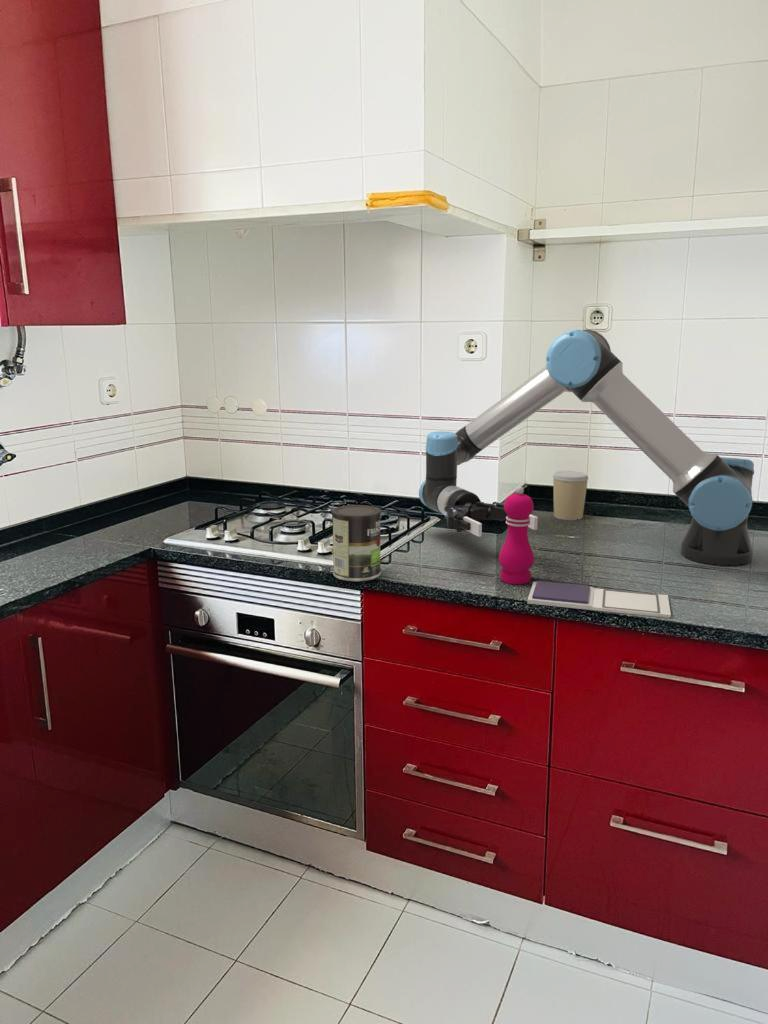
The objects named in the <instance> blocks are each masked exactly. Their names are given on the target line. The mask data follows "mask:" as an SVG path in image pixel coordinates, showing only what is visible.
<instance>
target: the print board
mask: <svg viewBox="0 0 768 1024" xmlns="http://www.w3.org/2000/svg"><path fill="white" fill-rule="evenodd" d="M591 611H598V612H610V613H618V614H628V615H637V616H638V615H639V616H648V617H655V618H657V617H658V618H666V619H667V618H668V619H671V617H672V613H671V607H670V600H669V595H668V594H661V593H660V594H659V593H650V592H648V593H647V592H638V591H628V590H620V589H619V590H617V589H607V588H597V587H596V588H595V587H594V593H593V602H592V610H591Z"/></svg>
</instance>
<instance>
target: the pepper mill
mask: <svg viewBox="0 0 768 1024" xmlns="http://www.w3.org/2000/svg"><path fill="white" fill-rule="evenodd" d="M524 491H525V490H524V487H523V486H519V485H518V486H516V487H515V489H514V493H512V494H510V495H508V496H507V497H506V498H505V500H504V503H503V504H504V510H505V512H506V513H507V515H508V516H506V520H505V524H506V525H507V534H506V537H505V540H504V543H503V544H502V546H501V549H500V552H499V554H498V555H499V556H498V562H499V565H500V566H501V568H502V569H501V570H500V580H501V581H502V582H503V583H505V584H509V585H524V584H528V583H530V582H531V579H532V577H531V576H532V573H531V571H530V569H531V568H532V567H533V566H534V563H535V557H534V553H533V549H532V546H531V545H530V542H529V537H528V532H529V527H528V525H530V519H531V518H530V517H529V515H530V514H531V515H532V513H533V511H534V508H535V506H534V501H533V498H531V497H530V496H529V495H527V494H526V493H524Z"/></svg>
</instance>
